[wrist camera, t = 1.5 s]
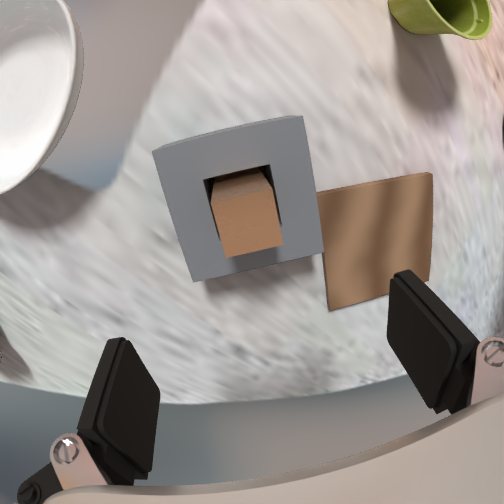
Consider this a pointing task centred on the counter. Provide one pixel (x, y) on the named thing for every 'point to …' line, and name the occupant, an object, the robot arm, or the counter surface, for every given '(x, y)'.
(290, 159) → the socket block
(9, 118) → the serving bowl
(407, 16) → the plant pot
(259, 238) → the copper peg
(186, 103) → the counter surface
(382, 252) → the walnut mat
